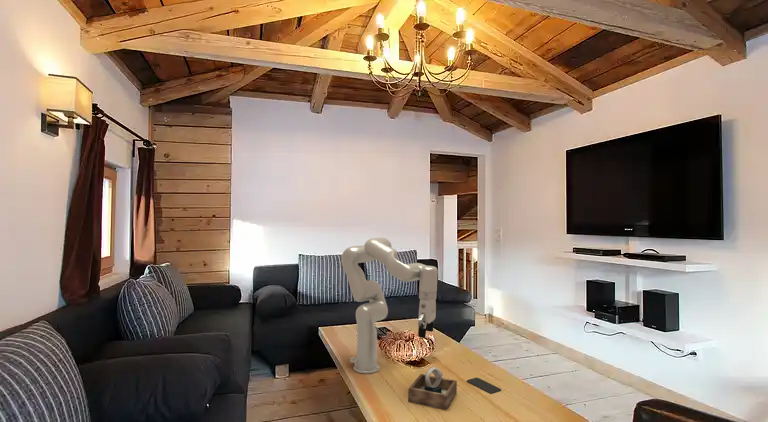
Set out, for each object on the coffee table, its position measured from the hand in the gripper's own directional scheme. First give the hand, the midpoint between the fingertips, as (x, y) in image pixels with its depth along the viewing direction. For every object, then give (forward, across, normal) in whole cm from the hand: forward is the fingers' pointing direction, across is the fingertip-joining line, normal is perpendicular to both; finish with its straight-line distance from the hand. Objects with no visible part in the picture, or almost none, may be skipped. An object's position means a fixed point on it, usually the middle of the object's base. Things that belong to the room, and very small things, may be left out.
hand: (425, 334), depth 179 cm
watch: (+23, -5, -6) cm, 24 cm away
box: (+24, -6, -6) cm, 25 cm away
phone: (+24, +16, -23) cm, 37 cm away
